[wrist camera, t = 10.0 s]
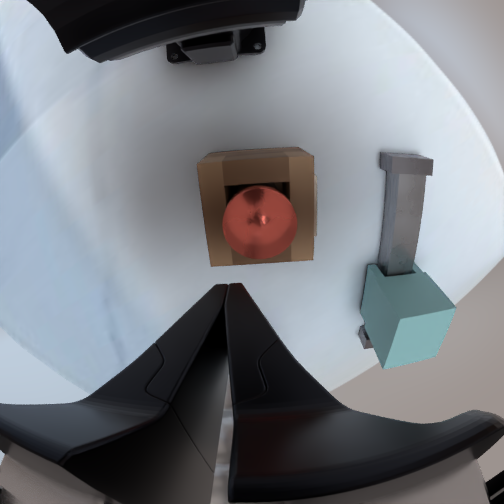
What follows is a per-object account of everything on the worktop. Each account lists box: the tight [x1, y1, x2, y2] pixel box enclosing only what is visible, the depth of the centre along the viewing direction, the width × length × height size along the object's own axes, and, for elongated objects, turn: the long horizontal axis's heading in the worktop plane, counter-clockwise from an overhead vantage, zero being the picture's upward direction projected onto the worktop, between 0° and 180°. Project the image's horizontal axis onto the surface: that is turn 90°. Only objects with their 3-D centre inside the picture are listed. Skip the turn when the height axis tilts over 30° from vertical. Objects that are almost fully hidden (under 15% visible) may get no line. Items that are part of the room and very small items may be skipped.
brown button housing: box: [197, 147, 317, 267], centre depth 17 cm, size 6×6×5 cm
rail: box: [359, 152, 433, 349], centre depth 21 cm, size 17×4×2 cm, turn 4°
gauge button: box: [222, 182, 297, 259], centre depth 16 cm, size 4×4×6 cm
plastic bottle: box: [210, 375, 233, 504], centre depth 17 cm, size 6×7×20 cm
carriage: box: [360, 263, 456, 369], centre depth 20 cm, size 5×5×7 cm
